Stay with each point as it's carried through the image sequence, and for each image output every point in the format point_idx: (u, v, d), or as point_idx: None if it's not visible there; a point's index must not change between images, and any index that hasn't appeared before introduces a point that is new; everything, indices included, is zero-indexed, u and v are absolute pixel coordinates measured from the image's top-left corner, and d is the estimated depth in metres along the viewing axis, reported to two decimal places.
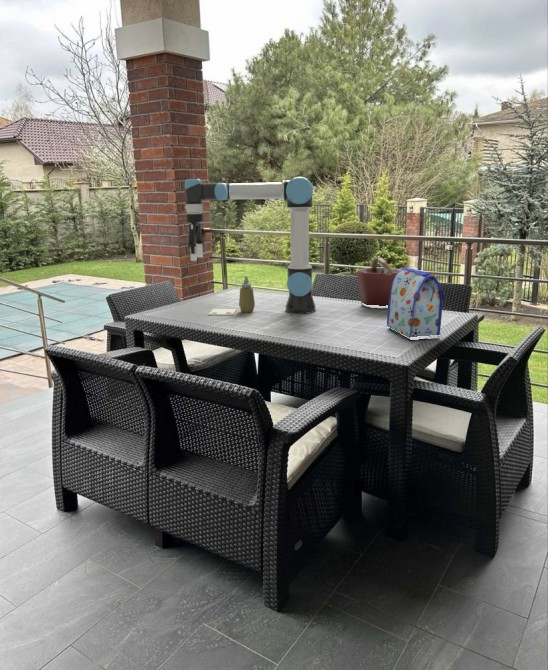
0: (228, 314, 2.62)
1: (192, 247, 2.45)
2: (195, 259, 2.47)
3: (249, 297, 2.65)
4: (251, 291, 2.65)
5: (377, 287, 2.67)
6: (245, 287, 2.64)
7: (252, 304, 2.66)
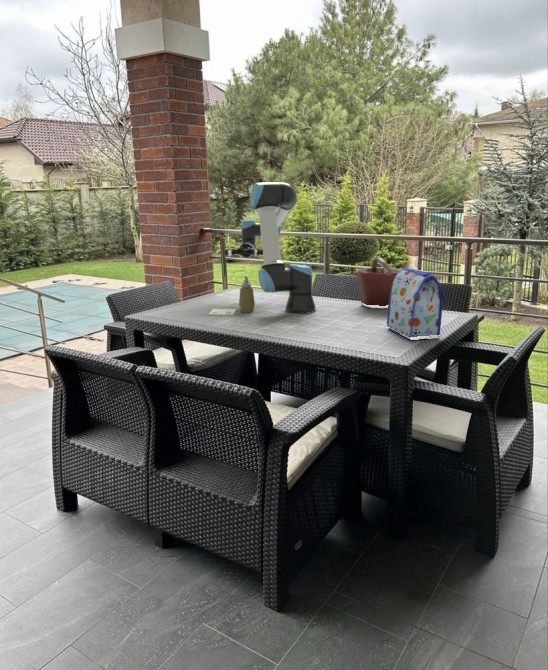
0: (228, 314, 2.62)
1: (227, 252, 2.79)
2: None
3: (249, 297, 2.65)
4: (251, 291, 2.65)
5: (377, 287, 2.67)
6: (245, 287, 2.64)
7: (252, 304, 2.66)
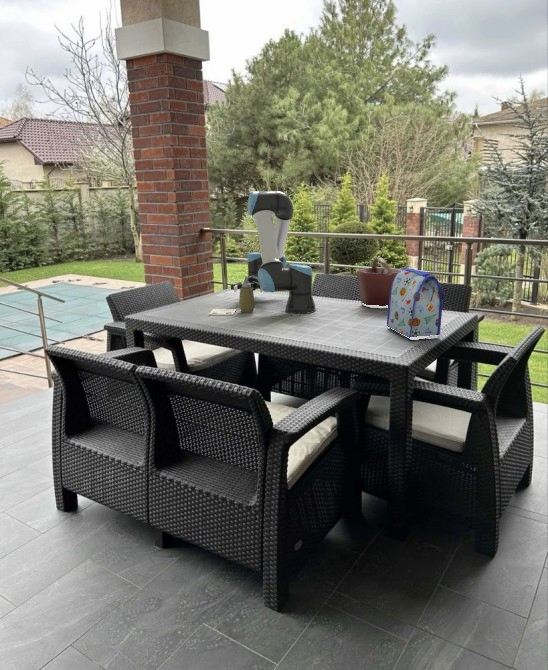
0: (228, 314, 2.62)
1: (233, 287, 2.81)
2: None
3: (249, 297, 2.65)
4: (251, 291, 2.65)
5: (377, 287, 2.67)
6: (245, 287, 2.64)
7: (252, 304, 2.66)
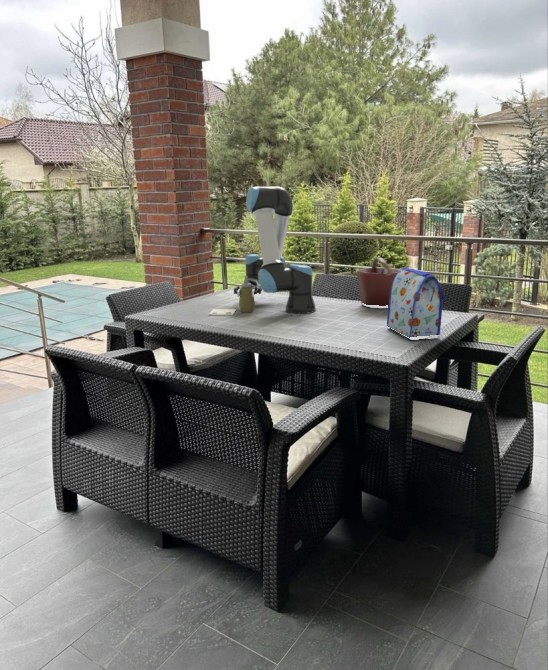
0: (228, 314, 2.62)
1: (236, 291, 2.69)
2: None
3: (249, 297, 2.65)
4: (251, 291, 2.65)
5: (377, 287, 2.67)
6: (245, 287, 2.64)
7: (252, 304, 2.66)
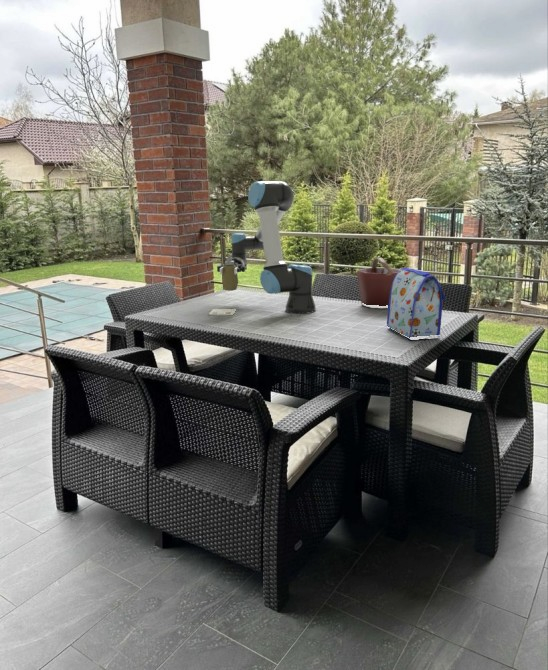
0: (228, 314, 2.62)
1: (220, 269, 2.66)
2: None
3: (232, 275, 2.62)
4: None
5: (377, 287, 2.67)
6: (228, 265, 2.62)
7: (235, 282, 2.63)
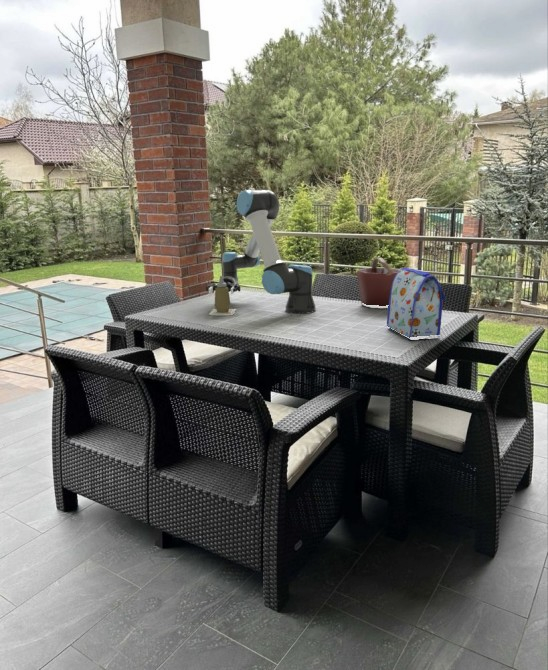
0: (228, 314, 2.62)
1: (208, 289, 2.68)
2: None
3: (224, 297, 2.63)
4: (226, 291, 2.63)
5: (377, 287, 2.67)
6: (220, 287, 2.63)
7: (227, 304, 2.65)
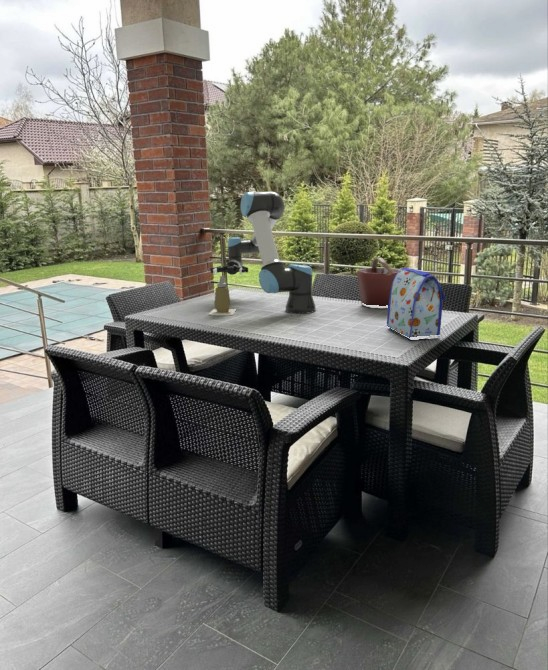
0: (228, 314, 2.62)
1: (213, 270, 2.82)
2: None
3: (224, 297, 2.63)
4: (226, 291, 2.63)
5: (377, 287, 2.67)
6: (220, 287, 2.63)
7: (227, 304, 2.65)
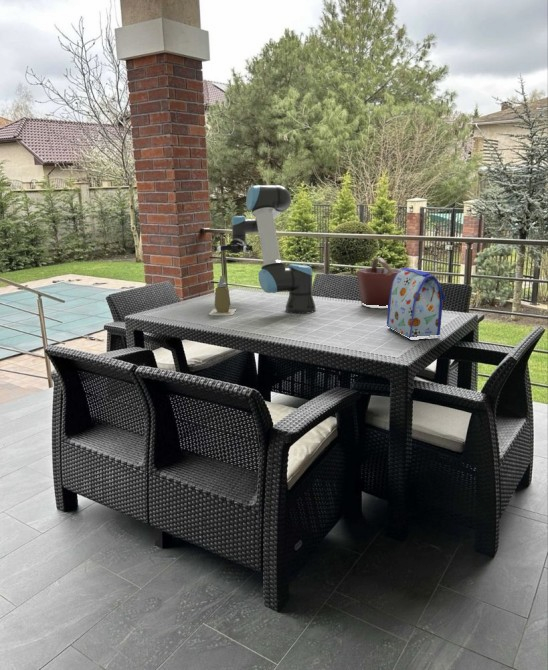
0: (228, 314, 2.62)
1: (217, 248, 2.81)
2: None
3: (224, 297, 2.63)
4: (226, 291, 2.63)
5: (377, 287, 2.67)
6: (220, 287, 2.63)
7: (227, 304, 2.65)
